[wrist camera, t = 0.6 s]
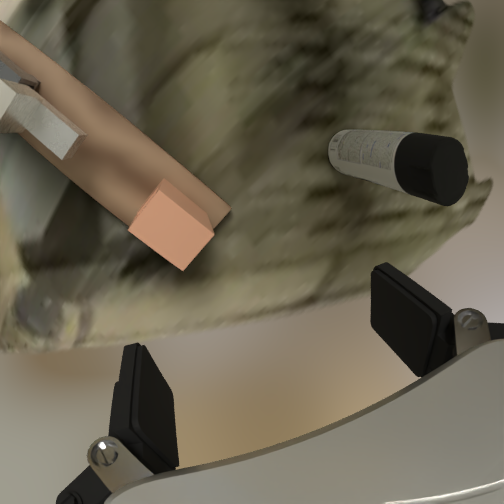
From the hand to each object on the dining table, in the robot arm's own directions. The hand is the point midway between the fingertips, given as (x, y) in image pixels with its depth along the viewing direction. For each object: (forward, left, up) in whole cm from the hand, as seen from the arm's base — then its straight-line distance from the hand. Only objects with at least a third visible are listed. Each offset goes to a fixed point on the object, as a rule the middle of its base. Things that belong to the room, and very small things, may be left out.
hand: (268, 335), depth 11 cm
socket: (+4, -2, -28) cm, 28 cm away
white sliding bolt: (+4, -29, -23) cm, 37 cm away
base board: (+4, -20, -29) cm, 36 cm away
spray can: (-18, +11, -29) cm, 36 cm away
